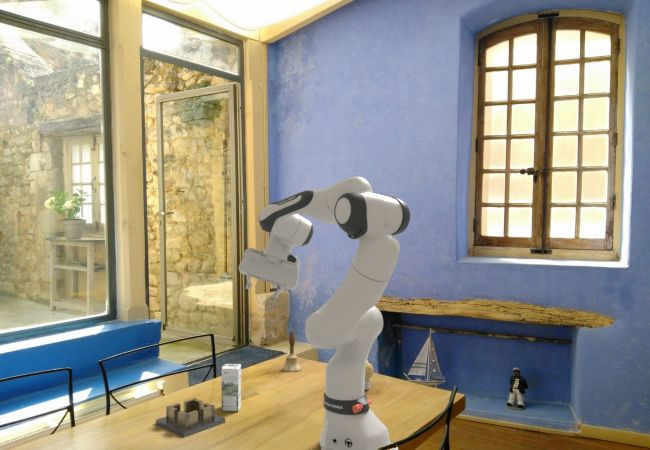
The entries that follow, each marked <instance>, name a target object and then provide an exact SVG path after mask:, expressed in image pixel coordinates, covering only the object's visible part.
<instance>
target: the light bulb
mask: <svg viewBox="0 0 650 450" xmlns="http://www.w3.org/2000/svg"><path fill="white" fill-rule="evenodd" d="M374 373H375V372H374V367H373V364H371V362H368V361H367V362H366V367H365V386H364V391H368V390H370V389H371V382H370V381H371V380H370V379H371V378H372V377H373V375H374Z"/></svg>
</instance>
